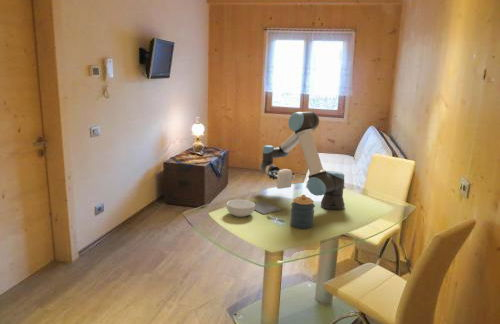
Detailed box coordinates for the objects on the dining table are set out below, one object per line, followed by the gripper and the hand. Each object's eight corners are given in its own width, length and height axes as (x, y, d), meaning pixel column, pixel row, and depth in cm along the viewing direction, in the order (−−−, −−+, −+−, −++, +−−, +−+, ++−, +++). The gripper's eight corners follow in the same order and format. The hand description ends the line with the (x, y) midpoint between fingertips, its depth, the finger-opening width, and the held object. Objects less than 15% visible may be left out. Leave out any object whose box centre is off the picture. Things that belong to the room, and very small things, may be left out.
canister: (290, 219, 224) (291, 190, 220) (312, 221, 223) (314, 192, 219) (290, 228, 211) (291, 197, 207) (313, 230, 210) (316, 198, 206)
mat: (282, 210, 239) (282, 209, 239) (263, 214, 231) (263, 213, 231) (262, 201, 255) (262, 200, 255) (244, 205, 246) (244, 204, 246)
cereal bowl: (235, 221, 218) (235, 209, 216) (221, 212, 232) (221, 201, 230) (260, 217, 227) (260, 205, 225) (245, 208, 240) (245, 197, 239)
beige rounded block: (287, 185, 255) (289, 167, 252) (292, 187, 252) (293, 169, 249) (275, 187, 250) (276, 169, 247) (279, 189, 246) (280, 170, 243)
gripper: (287, 175, 270) (302, 183, 250) (257, 176, 262) (270, 185, 242) (288, 164, 269) (303, 172, 248) (258, 166, 261) (271, 173, 240)
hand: (287, 178), depth 245 cm, fingers closed on beige rounded block, 10 cm apart
